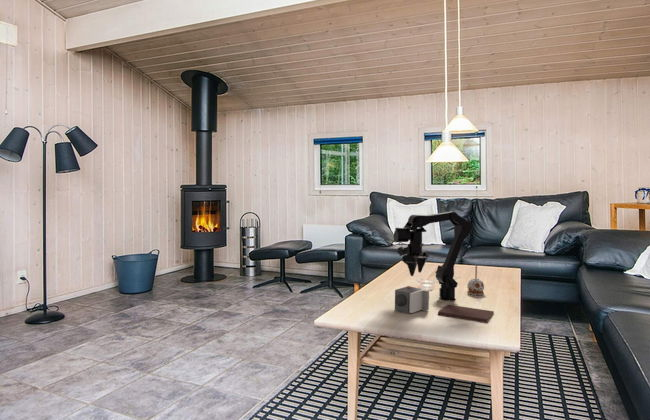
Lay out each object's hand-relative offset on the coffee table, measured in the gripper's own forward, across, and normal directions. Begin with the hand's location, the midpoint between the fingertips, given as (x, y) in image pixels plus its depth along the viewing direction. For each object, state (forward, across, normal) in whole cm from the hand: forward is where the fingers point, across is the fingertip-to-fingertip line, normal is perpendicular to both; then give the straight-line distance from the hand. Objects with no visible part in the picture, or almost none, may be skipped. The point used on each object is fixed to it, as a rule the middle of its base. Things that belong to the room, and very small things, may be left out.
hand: (415, 274), depth 203 cm
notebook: (+14, +8, +26) cm, 30 cm away
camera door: (+12, +18, +9) cm, 23 cm away
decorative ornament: (+14, -30, +20) cm, 38 cm away
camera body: (+12, +17, +3) cm, 21 cm away
